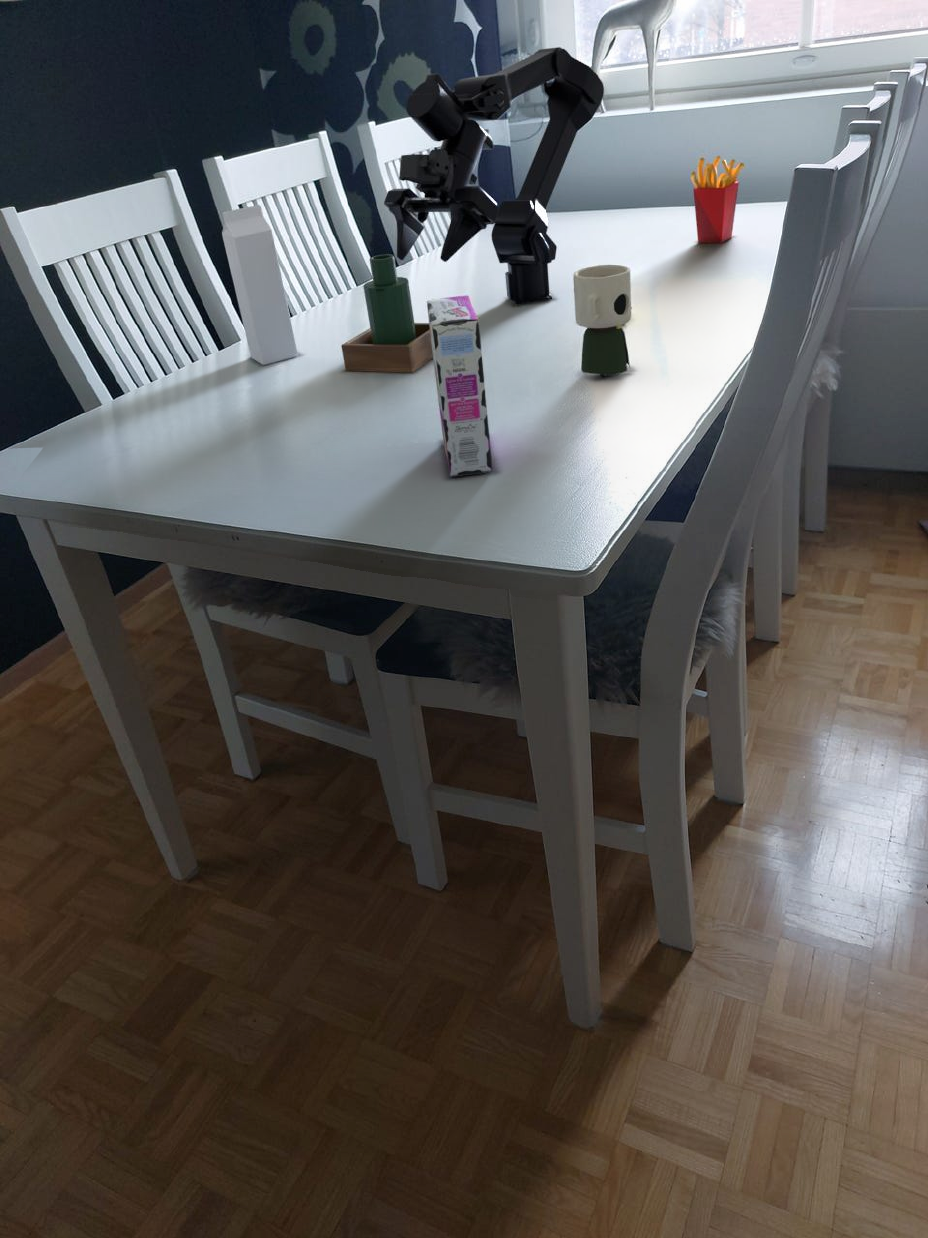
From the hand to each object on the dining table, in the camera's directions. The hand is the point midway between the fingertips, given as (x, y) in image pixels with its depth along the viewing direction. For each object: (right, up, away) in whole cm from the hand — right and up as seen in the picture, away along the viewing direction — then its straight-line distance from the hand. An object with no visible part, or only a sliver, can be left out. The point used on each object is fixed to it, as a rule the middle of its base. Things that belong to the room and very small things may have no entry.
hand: (420, 259), depth 140 cm
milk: (-24, -12, +10) cm, 28 cm away
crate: (-4, -15, +1) cm, 15 cm away
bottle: (-4, -14, 0) cm, 15 cm away
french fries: (+55, +20, +43) cm, 73 cm away
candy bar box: (+7, -35, -34) cm, 50 cm away
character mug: (+25, -21, -15) cm, 36 cm away
